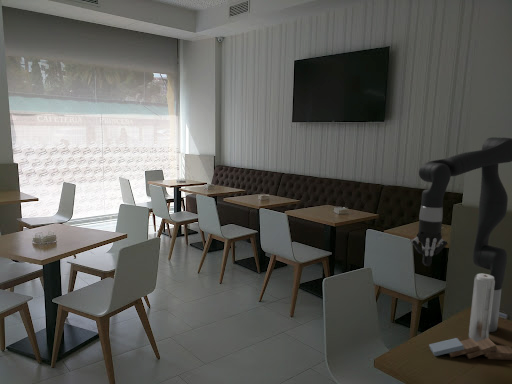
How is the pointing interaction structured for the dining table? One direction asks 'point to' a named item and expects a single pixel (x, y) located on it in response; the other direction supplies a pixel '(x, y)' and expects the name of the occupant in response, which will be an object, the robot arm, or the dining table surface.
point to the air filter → (481, 307)
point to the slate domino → (446, 346)
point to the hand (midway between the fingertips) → (426, 265)
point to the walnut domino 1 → (466, 348)
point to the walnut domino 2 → (482, 348)
